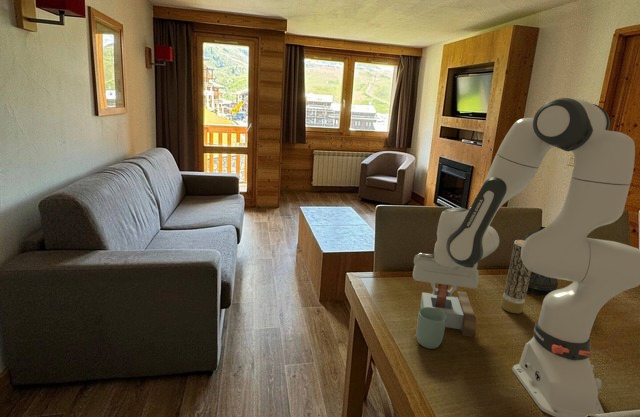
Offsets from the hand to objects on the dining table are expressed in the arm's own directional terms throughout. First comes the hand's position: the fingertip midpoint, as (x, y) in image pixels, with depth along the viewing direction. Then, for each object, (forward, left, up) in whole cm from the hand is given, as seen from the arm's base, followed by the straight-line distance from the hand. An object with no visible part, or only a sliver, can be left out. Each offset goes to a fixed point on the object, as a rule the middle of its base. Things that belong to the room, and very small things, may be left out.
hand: (441, 295), depth 124 cm
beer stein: (+35, -41, -8) cm, 55 cm away
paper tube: (+13, -26, -8) cm, 30 cm away
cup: (-17, +5, -8) cm, 20 cm away
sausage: (0, 0, -5) cm, 5 cm away
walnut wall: (0, -8, -8) cm, 11 cm away
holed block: (0, 0, -8) cm, 8 cm away
